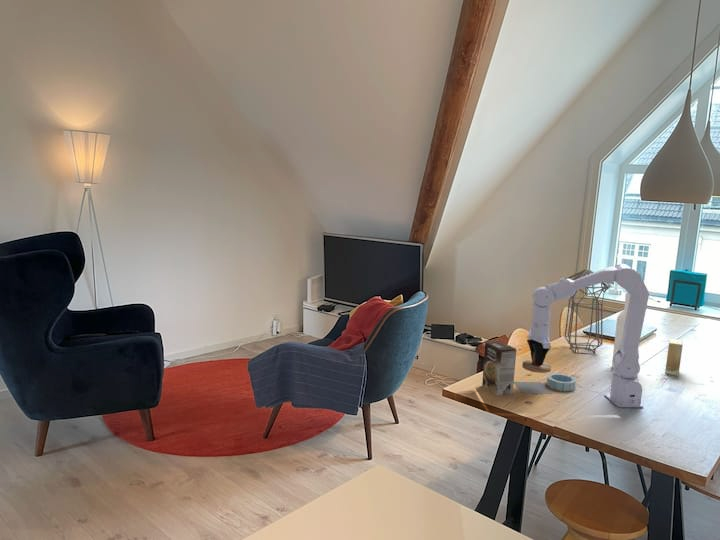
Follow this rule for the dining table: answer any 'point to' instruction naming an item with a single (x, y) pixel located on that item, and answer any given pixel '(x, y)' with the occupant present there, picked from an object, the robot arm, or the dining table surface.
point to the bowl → (561, 382)
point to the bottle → (620, 326)
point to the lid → (536, 366)
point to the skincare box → (674, 357)
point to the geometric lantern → (582, 274)
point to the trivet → (533, 387)
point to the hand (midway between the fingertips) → (537, 362)
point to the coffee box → (499, 367)
